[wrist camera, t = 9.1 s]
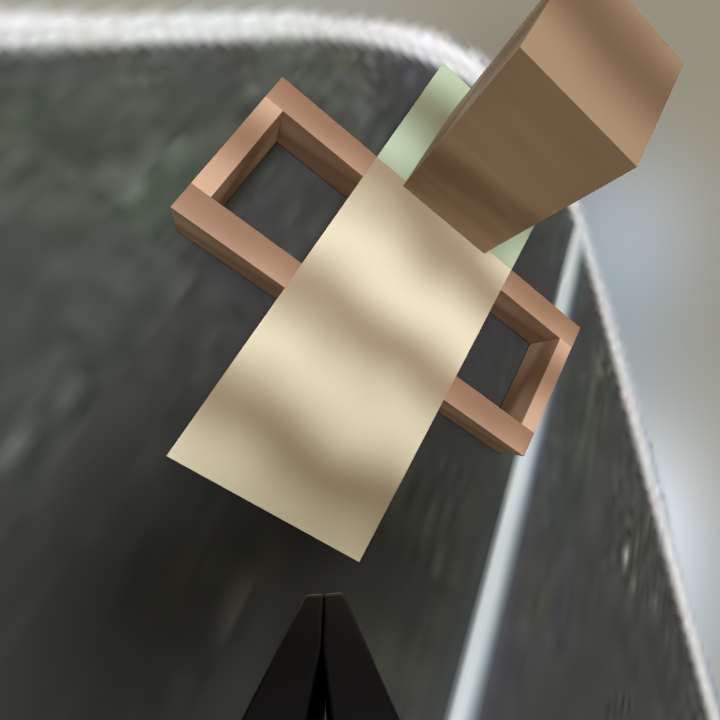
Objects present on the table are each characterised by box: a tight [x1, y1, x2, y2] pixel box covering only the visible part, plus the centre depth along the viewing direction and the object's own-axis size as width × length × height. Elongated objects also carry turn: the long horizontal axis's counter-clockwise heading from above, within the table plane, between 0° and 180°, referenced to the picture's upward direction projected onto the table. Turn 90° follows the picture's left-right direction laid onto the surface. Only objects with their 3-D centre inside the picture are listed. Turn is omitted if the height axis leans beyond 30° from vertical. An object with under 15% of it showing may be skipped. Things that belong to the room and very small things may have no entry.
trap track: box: [167, 63, 580, 562], centre depth 22 cm, size 26×22×2 cm
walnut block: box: [403, 0, 684, 253], centre depth 19 cm, size 6×6×9 cm
